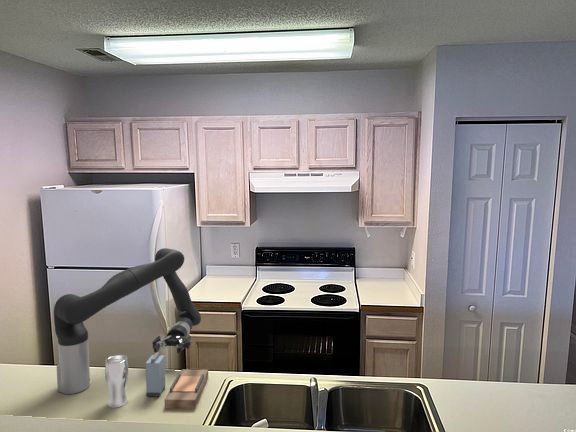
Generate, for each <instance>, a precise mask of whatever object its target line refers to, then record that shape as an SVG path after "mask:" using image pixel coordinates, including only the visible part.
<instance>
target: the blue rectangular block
mask: <svg viewBox="0 0 576 432" xmlns="http://www.w3.org/2000/svg"><path fill="white" fill-rule="evenodd" d="M160 354H161V353H160V352H159V351H158V352H156V353H155V352H154V354H151V356H150V357H149V358H148V359H147V361H146V362H145V385H146V386H145V389H146V393H145V394H146V395H145V396H147V397H161V395H162V391H163V390H165V389H166V361H165V360H166V358H165V357H166V356H165V355H164V354H163V355H162V354H161V355H160Z"/></svg>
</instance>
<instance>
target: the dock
mask: <svg viewBox="0 0 576 432" xmlns="http://www.w3.org/2000/svg"><path fill="white" fill-rule="evenodd" d="M179 371H180V372H179V373H177V375H176V376H175V378H174V380H173V382H172V384H171V386H170V387H169V391H168V392H167V394H166V396H165V397H164V409H179V410H180V409H185V410H186V409H193V410H195V409H196V408H197V406H198V404H199V401H200V399H201V396H202V394H203V391H204V389H205V386H206V384H207V382H208V379H209V369H188V368H187V369H186V368H185V369H183V368H182V369H180V370H179Z"/></svg>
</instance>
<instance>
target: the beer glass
mask: <svg viewBox="0 0 576 432" xmlns="http://www.w3.org/2000/svg"><path fill="white" fill-rule="evenodd" d="M104 365H105V366H104V367H105V369H104V374H105V376H104V377H105V382H106V387H107V392H108V399H107V406H108V407H110V408H113V409H114V408H115V409H116V408H120V407H122V406H125V405H126V404H127V403H128V400H129V399H128V395H127V385H128V377H129V362H128V356H127V355H125V354H115V355H111V356H109V357H107V358H106V359H105V364H104Z"/></svg>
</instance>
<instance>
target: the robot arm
mask: <svg viewBox="0 0 576 432" xmlns="http://www.w3.org/2000/svg"><path fill="white" fill-rule="evenodd" d="M184 264H185V255H184V254H183V252H181V251H179V250H177V249H173V248H166V247H165V248H160V249H159V250H157V251H156V253H155V255H154V261H153V262H149V263H144V264H140V265H135V266H132V267H129V268H125V269H124V270H122V271H121V272H118V273H116V274H115V275H112V277H110V278H109V279H108V280H107V281H106V282H105V283H104V285H102V286H101V287H100V288H99V289H97V290H95V291H93V292H90V293H88V294H86V295H83V296H80V295H76V294H72V293H67V294H64V295H61V296H60V297H59V298H58V299H57V300H56V302H55V304H54V308H53V322H54V332H55V335H56V337H57V346H58V364H57V365H56V385H57V392H60V393H62V394H64V395H73V394H77V393H80V392H83V391H85V390H87V389H88V388H89V387H90V386H91V378H90V377H91V375H90V372H91V371H90V370H91V369H90V350H89V349H90V347H89V331H88V330H87V328H86V326H85V324H84V322H85V321H87V320H88V319H90V318H92V317H93V316H94V315H96V314H97V313H99V312H101V311H102V310H103V309H105V308H107V307H108V306H110V305H112V304H113V303H116V302H118V301H119V300H121V299H124V298H125V297H128V296H130V295H131V294H133V293H134V292H137V291H138V290H140V289H141V288H143V287H145V286H147V285H149V284H151V283H153V282H154V281H157V280H158V279H160V278H162V277H163V279H164V281H165V283H166V285H167V287H168V289H169V291H170V293H171V296H172V298H173V299H172V300H173V301H174V304H175V308H176V310H178V311H179V312H180V313H178V315H177V317H176V319H177V320H176V323H175V324H173V326H172V327H171V328H170V329H169V331H168V332H167V334H166V336H165V337H161V336H160V335H158V336H157V337H156V338H155V339H154V340H153V341H152V349H153V352H154V354H155V353H156V352H159V351H160V349H167V348H168V347H177V348H176V353H177V354H180V352H182V351H183V350H184V349H185V348H186V349H190V347H191V344H192V336H189V335H190V332H192V329H193V327H196V326H198V325H200V323H201V321H202V315H201V313H200V311H199V310H198V309H197V307H196V306H195V303H193V302H192V299H191V296H190V293H189V290H188V287H186V285H185V283H184V282H183V281H182V280H181V278H180V277H179V276H178V275H179V274H177V272H176V271H178V270H180V269H181V268H182V267H183V265H184Z"/></svg>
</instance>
